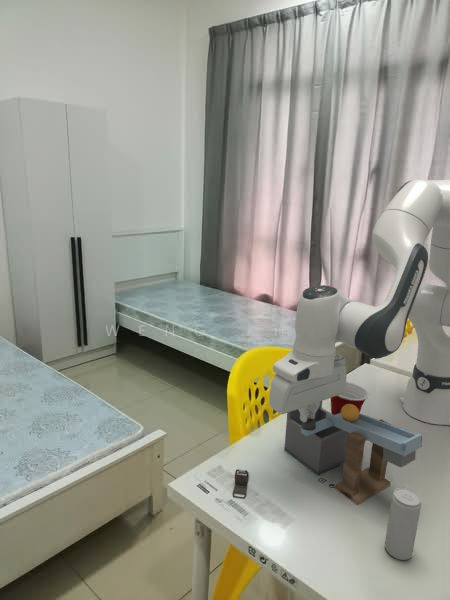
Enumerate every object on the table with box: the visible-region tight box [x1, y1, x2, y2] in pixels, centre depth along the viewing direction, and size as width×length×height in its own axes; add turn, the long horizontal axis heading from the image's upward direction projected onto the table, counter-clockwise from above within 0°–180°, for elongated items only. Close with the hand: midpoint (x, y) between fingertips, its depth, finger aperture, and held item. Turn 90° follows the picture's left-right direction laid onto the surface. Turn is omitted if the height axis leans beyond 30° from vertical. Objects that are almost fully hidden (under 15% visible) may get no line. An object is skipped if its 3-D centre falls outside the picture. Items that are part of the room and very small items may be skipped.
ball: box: [341, 404, 359, 422], centre depth 96 cm, size 4×4×4 cm
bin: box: [284, 401, 349, 476], centre depth 105 cm, size 12×12×16 cm
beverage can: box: [384, 487, 422, 561], centre depth 77 cm, size 5×5×12 cm
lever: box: [301, 412, 423, 469], centre depth 90 cm, size 14×20×6 cm
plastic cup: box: [330, 380, 370, 415], centre depth 118 cm, size 11×11×12 cm
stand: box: [335, 419, 392, 505], centre depth 94 cm, size 11×6×14 cm, turn 124°
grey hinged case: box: [232, 469, 250, 500], centre depth 94 cm, size 8×3×4 cm, turn 171°
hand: (307, 419), depth 94 cm, fingers closed, pressing on lever
